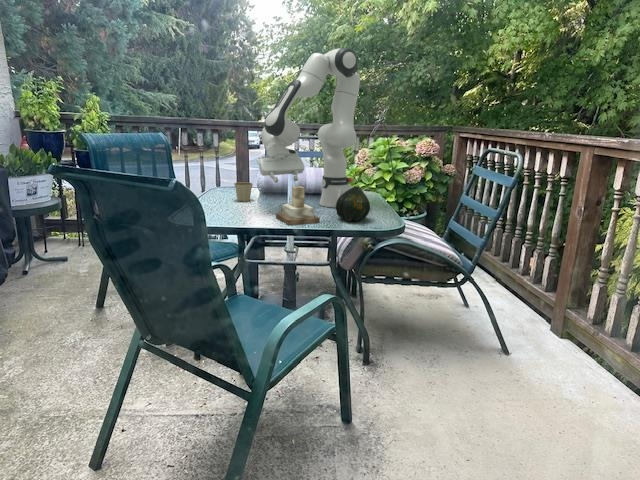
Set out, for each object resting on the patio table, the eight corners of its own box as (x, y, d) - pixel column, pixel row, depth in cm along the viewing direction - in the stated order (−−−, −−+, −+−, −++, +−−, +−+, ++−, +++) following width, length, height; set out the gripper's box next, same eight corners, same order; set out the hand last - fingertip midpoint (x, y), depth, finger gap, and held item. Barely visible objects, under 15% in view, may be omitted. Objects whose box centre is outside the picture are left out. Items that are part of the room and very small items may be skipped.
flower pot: (257, 200, 227) (256, 183, 225) (244, 203, 220) (244, 185, 217) (243, 198, 232) (242, 181, 230) (230, 200, 224) (229, 183, 222)
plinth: (305, 215, 197) (306, 202, 196) (319, 222, 185) (320, 208, 184) (275, 217, 191) (275, 203, 190) (288, 225, 179) (288, 210, 178)
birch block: (300, 205, 189) (300, 186, 187) (304, 206, 186) (304, 187, 184) (291, 205, 187) (291, 186, 185) (295, 207, 184) (295, 188, 182)
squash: (330, 210, 184) (356, 183, 182) (328, 204, 198) (352, 179, 196) (355, 233, 186) (380, 207, 184) (351, 226, 201) (375, 201, 199)
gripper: (257, 152, 195) (265, 178, 189) (300, 150, 203) (309, 175, 198) (254, 161, 200) (262, 186, 194) (296, 159, 208) (305, 183, 203)
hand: (286, 180), depth 196 cm, fingers open, 8 cm apart
